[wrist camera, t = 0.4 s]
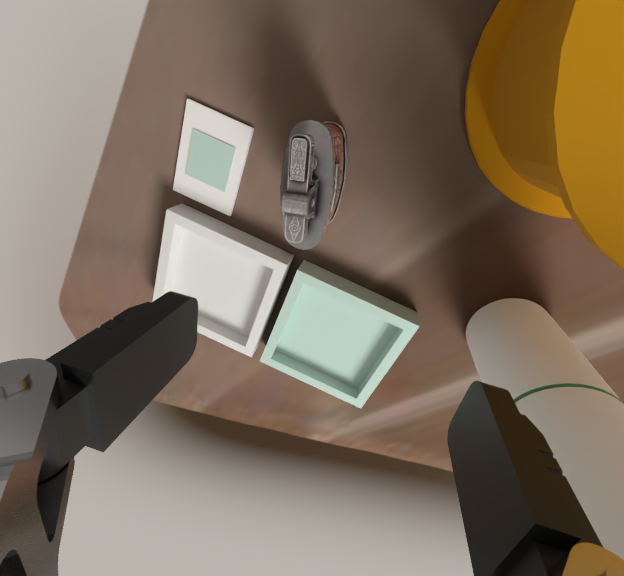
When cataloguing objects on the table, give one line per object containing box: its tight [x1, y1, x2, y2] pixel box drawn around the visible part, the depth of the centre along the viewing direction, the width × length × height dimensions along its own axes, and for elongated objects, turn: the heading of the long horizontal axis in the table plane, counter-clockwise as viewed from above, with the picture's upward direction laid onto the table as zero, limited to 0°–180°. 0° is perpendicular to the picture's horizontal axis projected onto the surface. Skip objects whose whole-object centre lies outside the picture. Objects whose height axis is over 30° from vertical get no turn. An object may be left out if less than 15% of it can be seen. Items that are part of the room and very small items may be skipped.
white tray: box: [153, 203, 295, 357], centre depth 33 cm, size 12×12×2 cm
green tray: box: [260, 260, 419, 408], centre depth 33 cm, size 12×12×2 cm
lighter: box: [280, 120, 348, 250], centre depth 23 cm, size 8×3×10 cm, turn 175°
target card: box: [173, 98, 254, 216], centre depth 28 cm, size 8×6×1 cm
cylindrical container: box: [466, 298, 624, 560], centre depth 19 cm, size 7×7×25 cm
